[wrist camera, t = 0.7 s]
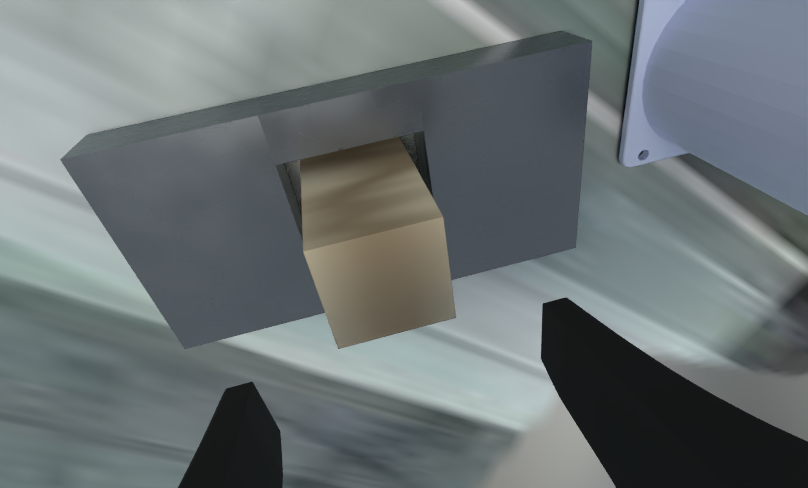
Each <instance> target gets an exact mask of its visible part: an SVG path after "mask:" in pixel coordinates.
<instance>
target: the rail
mask: <svg viewBox="0 0 808 488" xmlns="http://www.w3.org/2000/svg"><path fill="white" fill-rule="evenodd" d="M591 50H592V41H591V40H588V39H585V38H582V37H579V36H576V35H573V34H570V33H567V32H564V31H558V32H554V33H549V34H545V35H540V36H536V37H531V38H526V39H522V40H517V41H513V42H508V43H504V44H499V45H495V46H490V47H486V48H481V49H476V50H472V51H467V52H463V53H458V54H454V55H449V56H445V57H440V58H435V59H431V60H426V61H422V62H417V63H413V64H408V65H404V66H399V67H394V68H390V69H385V70H381V71H376V72H372V73H367V74H363V75H358V76H354V77H349V78H344V79H340V80H335V81H331V82H326V83H322V84H317V85H313V86H308V87H303V88H299V89H294V90H290V91H285V92H281V93H276V94H272V95H267V96H262V97H258V98H253V99H249V100H244V101H240V102H235V103H231V104H226V105H222V106H217V107H212V108H208V109H203V110H199V111H194V112H190V113H185V114H181V115H176V116H171V117H167V118H162V119H158V120H153V121H149V122H144V123H140V124H135V125H131V126H126V127H121V128H117V129H112V130H108V131H103V132H99V133H94V134H90V135H86V136H85V137H84V138H83V139H82V140H81V141H80V142H79V143H77V144H76V145H75V146H74V147H73V148H72V149H71V150H70V151H69V152H68V153H67V154H66V155H65V156H64V157H62V158H61V159H60V160H61V161H62V163H63V164H64V166H65V167H66V169H67V171H68V172H69V174H70V175H71V177H72V178H73V180H74V181H75V183H76V184H77V186H78V187H79V189H80V190H81V192H82V193H83V195H84V196H85V198H86V199H87V201H88V202H89V204H90V206H91V207H92V209H93V210H94V212H95V213H96V215H97V216H98V218H99V219H100V221H101V222H102V224H103V225H104V227H105V228H106V230H107V231H108V233H109V234H110V236H111V237H112V239H113V241H114V242H115V244H116V245H117V247H118V248H119V250H120V251H121V253H122V254H123V256H124V257H125V259H126V260H127V262H128V263H129V265H130V266H131V268H132V269H133V271H134V273H135V274H136V276H137V277H138V279H139V280H140V282H141V283H142V285H143V286H144V288H145V289H146V291H147V292H148V294H149V295H150V297H151V298H152V300H153V301H154V303H155V304H156V306H157V308H158V309H159V311H160V312H161V314H162V315H163V317H164V318H165V320H166V321H167V323H168V324H169V326H170V327H171V329H172V330H173V332H174V333H175V335H176V336H177V338H178V339H179V341H180V343H181V344H182V346H183V347H184V349H187V348H191V347H194V346H198V345H202V344H206V343H210V342H214V341H218V340H221V339H225V338H229V337H233V336H237V335H241V334H245V333H248V332H252V331H256V330H260V329H264V328H268V327H272V326H275V325H279V324H283V323H287V322H291V321H295V320H299V319H302V318H306V317H310V316H314V315H318V314H322V313H325V311H324V308H323V305H322V302H321V300H320V297H319V294H318V291H317V289H316V286H315V283H314V280H313V277H312V275H311V272H310V269H309V266H308V264H307V261H306V258H305V255H304V252H303V230H302V213H301V211H300V208H299V205H298V202H297V199H296V196H295V193H294V190H293V187H292V184H291V181H290V178H289V175H288V173H287V170H286V167H285V164H284V163H287V162H291V161H296V160H300V159H304V158H309V157H313V156H317V155H322V154H326V153H330V152H335V151H339V150H343V149H347V148H352V147H356V146H360V145H365V144H369V143H373V142H378V141H382V140H386V139H391V138H395V137H399V136H404V135H408V134H412V133H414V136H415V142H416V149H417V156H418V162H419V169H420V175H421V177H422V179H423V181H424V183H425V185H426V186H427V188H428V190H429V192H430V194H431V196H432V197H433V199H434V201H435V203H436V205H437V206H438V208H439V210H440V212H441V214H442V216H443V219H444V227H445V235H446V243H447V251H448V259H449V267H450V274H451V280H453V279H457V278H461V277H464V276H468V275H472V274H476V273H480V272H484V271H488V270H491V269H495V268H499V267H503V266H507V265H511V264H515V263H518V262H522V261H526V260H530V259H534V258H538V257H542V256H545V255H549V254H553V253H557V252H561V251H565V250H569V249H572V248H576V235H577V223H578V211H579V198H580V186H581V174H582V161H583V149H584V137H585V124H586V112H587V100H588V87H589V75H590V63H591Z"/></svg>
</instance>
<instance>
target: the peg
mask: <svg viewBox="0 0 808 488" xmlns="http://www.w3.org/2000/svg"><path fill="white" fill-rule="evenodd" d="M300 169H301V199H302V230H303V252H304V255H305V258H306V261H307V264H308V266H309V269H310V272H311V275H312V277H313V280H314V283H315V286H316V289H317V291H318V294H319V297H320V300H321V302H322V305H323V308H324V311H325V314H326V316H327V319H328V322H329V325H330V327H331V330H332V333H333V336H334V339H335V341H336V344H337V347H338V349H340V348H344V347H348V346H351V345H355V344H359V343H363V342H366V341H370V340H374V339H378V338H381V337H385V336H389V335H393V334H396V333H400V332H404V331H408V330H411V329H415V328H419V327H423V326H426V325H430V324H434V323H438V322H441V321H445V320H449V319H453V318H456V314H455V306H454V298H453V290H452V282H451V274H450V267H449V259H448V251H447V243H446V235H445V227H444V219H443V216H442V214H441V212H440V210H439V208H438V206H437V205H436V203H435V201H434V199H433V197H432V196H431V194H430V192H429V190H428V188H427V186H426V185H425V183H424V181H423V179H422V177H421V176H420V174H419V172H418V170H417V168H416V166H415V165H414V163H413V161H412V159H411V157H410V155H409V154H408V152H407V150H406V148H405V146H404V145H403V143H402V141H401V139H400V137H395V138H391V139H386V140H382V141H378V142H373V143H369V144H365V145H360V146H356V147H352V148H347V149H343V150H339V151H335V152H330V153H326V154H322V155H317V156H313V157H309V158H304V159H300Z"/></svg>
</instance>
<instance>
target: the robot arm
mask: <svg viewBox="0 0 808 488" xmlns="http://www.w3.org/2000/svg"><path fill="white" fill-rule="evenodd" d="M641 151H643V153H642V154H641V155H640V156H639V154H640V152H641ZM687 153H691V154H693V155H695V156H696V157H698V158H700V159H702V160H704V161H706V162H708V163H710V164H711V165H713V166H715V167H717V168H719V169H721V170H723V171H725V172H727V173H728V174H730V175H732V176H734V177H736V178H738V179H740V180H742V181H743V182H745V183H747V184H749V185H751V186H753V187H755V188H757V189H758V190H760V191H762V192H764V193H766V194H768V195H770V196H772V197H774V198H775V199H777V200H779V201H781V202H783V203H785V204H787V205H789V206H790V207H792V208H794V209H796V210H798V211H800V212H802V213H804V214H805V215H807V216H808V0H639V8H638V16H637V23H636V31H635V38H634V46H633V54H632V61H631V69H630V76H629V84H628V91H627V99H626V107H625V114H624V122H623V129H622V137H621V145H620V152H619V161H620V163H621V164H622V165H624V166H626V167H634V166H638V165H642V164H646V163H650V162H654V161H658V160H662V159H666V158H670V157H674V156H678V155H682V154H687ZM638 156H639V157H638ZM541 359H542V362H543V364H544V366H545V368H546V370H547V372H548V374H549V377H550V379H551V381H552V383H553V385H554V387H555V389H556V391H557V393H558V395H559V397H560V398H561V400H562V402H563V403H564V405H565V406H566V408H567V410H568V411H569V413H570V414H571V416H572V418H573V419H574V421H575V422H576V424H577V426H578V427H579V429H580V430H581V432H582V433H583V435H584V437H585V438H586V440H587V441H588V443H589V445H590V446H591V448H592V449H593V451H594V452H595V454H596V456H597V457H598V459H599V460H600V462H601V464H602V465H603V467H604V468H605V470H606V471H607V473H608V475H609V476H610V478H611V479H612V481H613V483H614V485H615V486H616V488H808V442H807V441H805V440H803V439H801V438H798V437H796V436H794V435H792V434H790V433H788V432H785V431H783V430H781V429H779V428H776V427H774V426H772V425H770V424H768V423H766V422H764V421H762V420H760V419H758V418H756V417H754V416H752V415H750V414H748V413H746V412H744V411H743V410H741V409H739V408H737V407H735V406H733V405H731V404H729V403H728V402H726V401H724V400H722V399H720V398H718V397H716V396H715V395H713V394H711V393H709V392H707V391H706V390H704V389H702V388H701V387H699V386H697V385H695V384H694V383H692V382H690V381H689V380H687V379H686V378H684V377H682V376H681V375H679V374H677V373H675V372H674V371H672V370H671V369H669V368H668V367H666V366H664V365H663V364H661V363H660V362H658V361H657V360H655V359H654V358H652V357H651V356H649V355H648V354H646V353H645V352H643V351H642V350H640V349H639V348H637V347H636V346H634V345H633V344H631V343H630V342H628V341H627V340H625V339H624V338H622V337H621V336H619V335H618V334H617V333H615V332H614V331H612V330H611V329H610V328H608V327H607V326H605V325H604V324H603V323H601V322H600V321H598V320H597V319H596V318H594V317H593V316H591V315H590V314H589V313H587V312H586V311H585V310H583V309H582V308H580V307H579V306H578V305H576V304H575V303H574V302H572V301H571V300H569V299H568V298H562V299H558V300H554V301H551V302H547V303H543V311H542V343H541ZM282 482H283V468H282V450H281V436H280V430H279V428H278V426H277V424H276V423H275V421H274V419H273V417H272V416H271V414H270V412H269V410H268V408H267V407H266V405H265V403H264V401H263V400H262V398H261V396H260V394H259V392H258V391H257V389H256V387H255V385H254V383H253V382H249V383H246V384H242V385H238V386H234V387H231V388H227V389H226V390H225V392H224V393H223V396H222V398H221V400H220V402H219V404H218V406H217V409H216V411H215V413H214V415H213V417H212V420H211V422H210V424H209V426H208V428H207V430H206V432H205V434H204V437H203V439H202V441H201V443H200V445H199V447H198V449H197V451H196V453H195V455H194V457H193V459H192V461H191V463H190V465H189V467H188V469H187V471H186V473H185V475H184V477H183V479H182V481H181V483H180V485H179V487H178V488H282Z"/></svg>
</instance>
